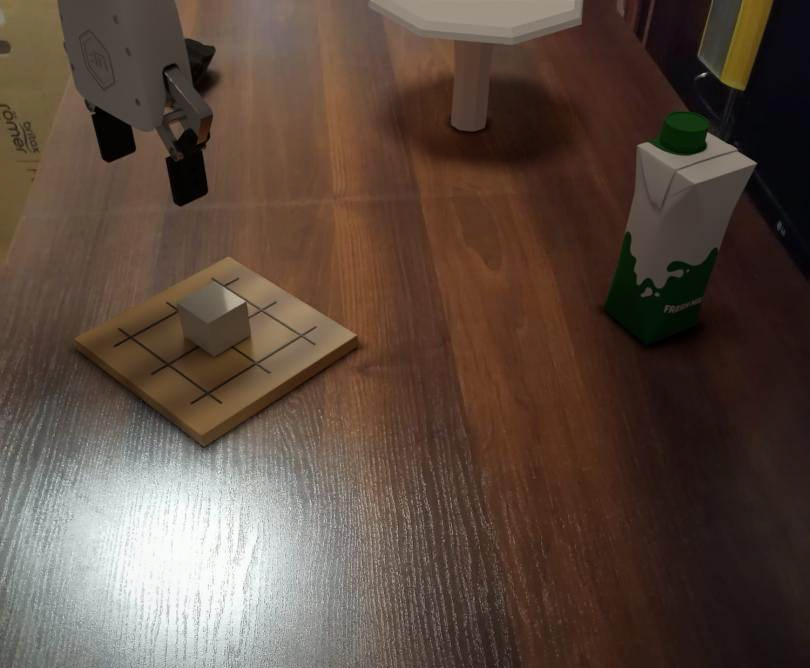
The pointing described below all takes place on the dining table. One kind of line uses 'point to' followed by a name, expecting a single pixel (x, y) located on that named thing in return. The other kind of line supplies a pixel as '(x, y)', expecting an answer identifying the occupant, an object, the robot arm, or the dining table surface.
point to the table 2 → (479, 38)
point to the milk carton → (675, 226)
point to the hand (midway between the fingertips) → (154, 177)
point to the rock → (198, 58)
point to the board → (228, 371)
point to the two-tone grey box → (214, 318)
